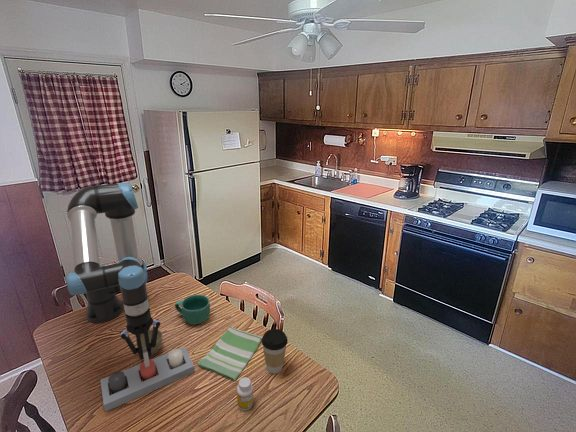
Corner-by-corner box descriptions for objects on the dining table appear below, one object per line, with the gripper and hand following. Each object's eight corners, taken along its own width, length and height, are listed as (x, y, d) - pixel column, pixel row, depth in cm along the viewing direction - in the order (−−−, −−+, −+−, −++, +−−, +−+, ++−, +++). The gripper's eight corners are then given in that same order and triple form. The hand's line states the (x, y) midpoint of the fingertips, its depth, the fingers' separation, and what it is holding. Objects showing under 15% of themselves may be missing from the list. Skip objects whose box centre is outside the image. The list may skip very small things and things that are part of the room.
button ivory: (168, 364, 121) (166, 352, 119) (181, 358, 124) (180, 346, 122) (171, 373, 118) (170, 360, 116) (185, 367, 120) (183, 355, 118)
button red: (140, 375, 116) (138, 363, 114) (155, 369, 119) (152, 357, 117) (143, 385, 112) (141, 372, 110) (158, 379, 115) (155, 366, 113)
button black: (110, 388, 111) (107, 375, 109) (126, 381, 114) (123, 369, 112) (112, 398, 107) (109, 385, 105) (128, 391, 110) (125, 378, 108)
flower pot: (155, 362, 123) (152, 348, 121) (132, 358, 125) (129, 344, 122) (169, 344, 132) (167, 330, 130) (148, 340, 134) (145, 327, 132)
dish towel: (196, 367, 122) (195, 361, 121) (229, 329, 142) (228, 325, 141) (235, 382, 115) (234, 377, 115) (264, 341, 136) (263, 336, 135)
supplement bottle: (238, 397, 109) (237, 375, 106) (253, 396, 110) (252, 375, 107) (237, 411, 104) (235, 389, 101) (253, 410, 105) (252, 388, 101)
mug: (215, 313, 152) (214, 297, 149) (202, 330, 141) (200, 313, 138) (185, 307, 156) (183, 291, 153) (170, 323, 145) (168, 306, 142)
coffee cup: (290, 361, 125) (291, 331, 120) (281, 380, 116) (282, 349, 111) (267, 355, 128) (267, 325, 123) (257, 373, 119) (257, 342, 114)
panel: (102, 385, 113) (100, 379, 112) (185, 352, 128) (184, 346, 127) (105, 411, 103) (103, 405, 102) (194, 372, 119) (194, 366, 118)
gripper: (117, 323, 99) (128, 379, 107) (160, 309, 106) (168, 363, 114) (114, 310, 105) (125, 365, 113) (155, 298, 112) (163, 350, 120)
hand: (147, 364), depth 113 cm, fingers closed
